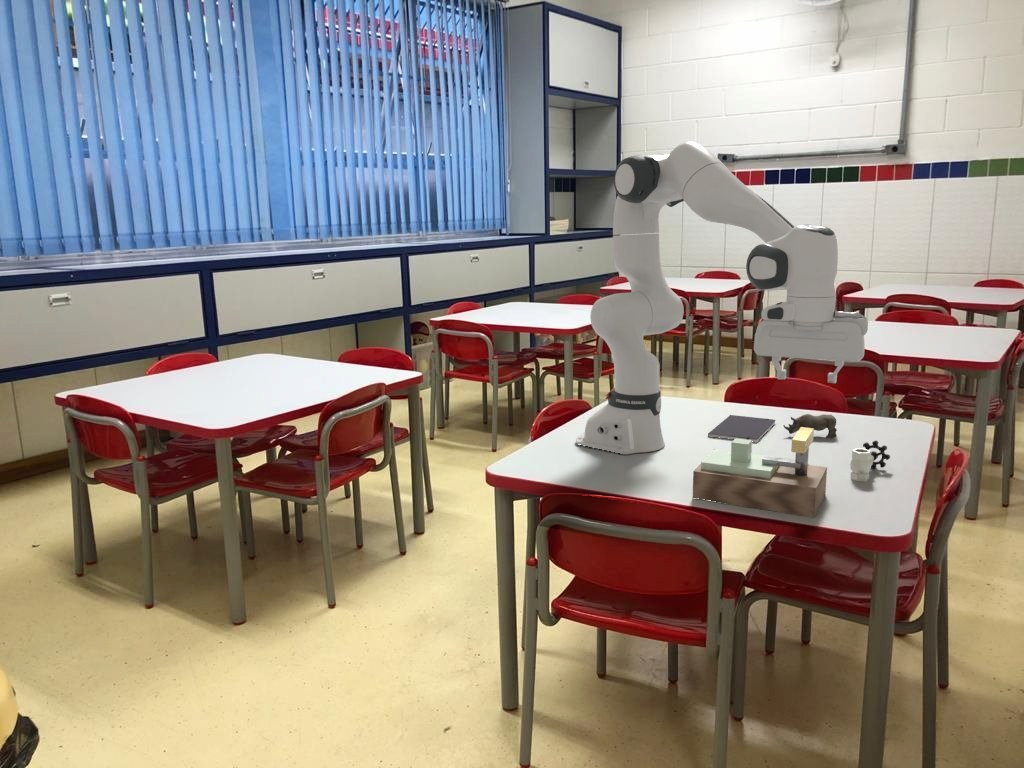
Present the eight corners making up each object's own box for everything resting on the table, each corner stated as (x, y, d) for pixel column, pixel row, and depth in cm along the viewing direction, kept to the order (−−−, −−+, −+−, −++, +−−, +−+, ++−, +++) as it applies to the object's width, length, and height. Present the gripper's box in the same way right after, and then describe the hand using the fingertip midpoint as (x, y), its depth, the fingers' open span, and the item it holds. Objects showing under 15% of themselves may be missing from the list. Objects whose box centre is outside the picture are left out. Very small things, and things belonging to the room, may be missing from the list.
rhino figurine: (780, 434, 213) (782, 412, 212) (835, 434, 212) (836, 412, 210) (784, 438, 209) (785, 416, 208) (839, 439, 208) (841, 416, 206)
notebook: (730, 420, 230) (707, 439, 212) (730, 414, 229) (708, 433, 211) (776, 425, 223) (757, 445, 205) (776, 419, 223) (757, 439, 205)
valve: (872, 485, 174) (889, 471, 182) (874, 455, 172) (891, 442, 181) (840, 479, 178) (859, 465, 187) (842, 450, 176) (861, 438, 185)
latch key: (757, 475, 162) (759, 435, 160) (767, 461, 171) (769, 423, 169) (803, 481, 158) (805, 441, 156) (811, 467, 167) (813, 428, 165)
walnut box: (692, 498, 168) (693, 471, 166) (710, 478, 180) (711, 452, 178) (814, 517, 156) (816, 488, 155) (825, 494, 168) (827, 467, 167)
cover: (700, 469, 168) (701, 443, 167) (713, 455, 176) (714, 431, 175) (770, 478, 161) (771, 452, 160) (780, 464, 170) (781, 439, 168)
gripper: (870, 310, 154) (865, 381, 157) (760, 306, 163) (757, 373, 166) (866, 314, 148) (861, 388, 151) (753, 310, 158) (750, 379, 161)
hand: (806, 380), depth 159 cm, fingers open, 8 cm apart
